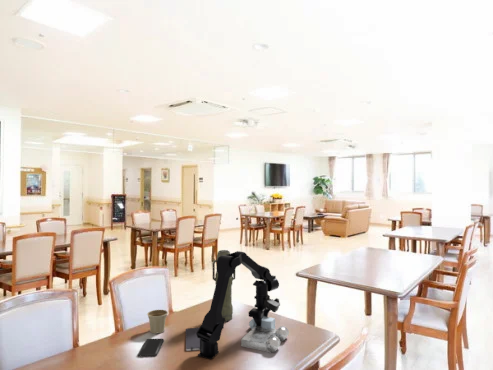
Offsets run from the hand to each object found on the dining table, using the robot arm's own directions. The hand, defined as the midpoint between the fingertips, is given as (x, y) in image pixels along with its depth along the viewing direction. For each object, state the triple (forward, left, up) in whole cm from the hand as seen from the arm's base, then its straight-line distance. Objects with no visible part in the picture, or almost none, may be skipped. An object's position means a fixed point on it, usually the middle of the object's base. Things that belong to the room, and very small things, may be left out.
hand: (262, 326), depth 164 cm
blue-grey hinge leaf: (0, 0, -1) cm, 1 cm away
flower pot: (-44, -23, -1) cm, 50 cm away
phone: (-35, -38, -2) cm, 52 cm away
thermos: (-23, +4, -1) cm, 23 cm away
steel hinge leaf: (+7, -13, -1) cm, 15 cm away
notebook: (-21, -22, -2) cm, 30 cm away
